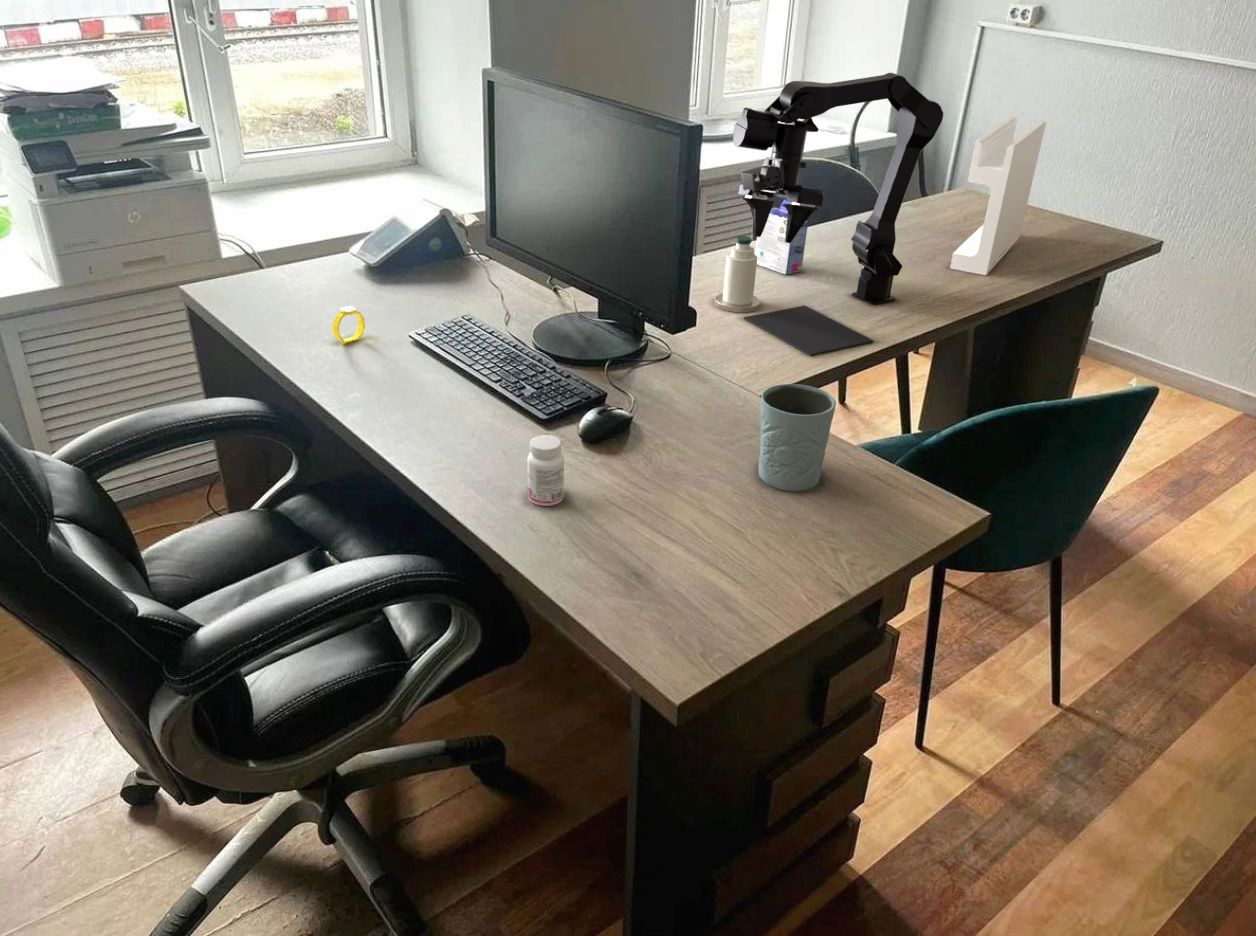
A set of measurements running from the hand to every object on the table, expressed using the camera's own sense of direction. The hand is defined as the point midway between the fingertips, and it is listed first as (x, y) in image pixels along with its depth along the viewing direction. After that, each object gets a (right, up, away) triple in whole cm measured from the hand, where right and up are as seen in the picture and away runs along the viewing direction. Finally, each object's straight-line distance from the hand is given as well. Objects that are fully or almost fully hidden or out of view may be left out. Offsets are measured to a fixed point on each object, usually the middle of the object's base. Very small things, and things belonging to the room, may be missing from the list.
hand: (772, 239), depth 191 cm
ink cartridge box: (+6, +1, +31) cm, 32 cm away
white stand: (+57, +8, +47) cm, 75 cm away
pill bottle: (-38, -47, -57) cm, 83 cm away
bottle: (-6, -10, +9) cm, 15 cm away
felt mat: (+6, -17, -1) cm, 18 cm away
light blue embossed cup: (-5, -44, -49) cm, 67 cm away
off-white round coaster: (-6, -11, +10) cm, 16 cm away
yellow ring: (-76, -21, -14) cm, 80 cm away
